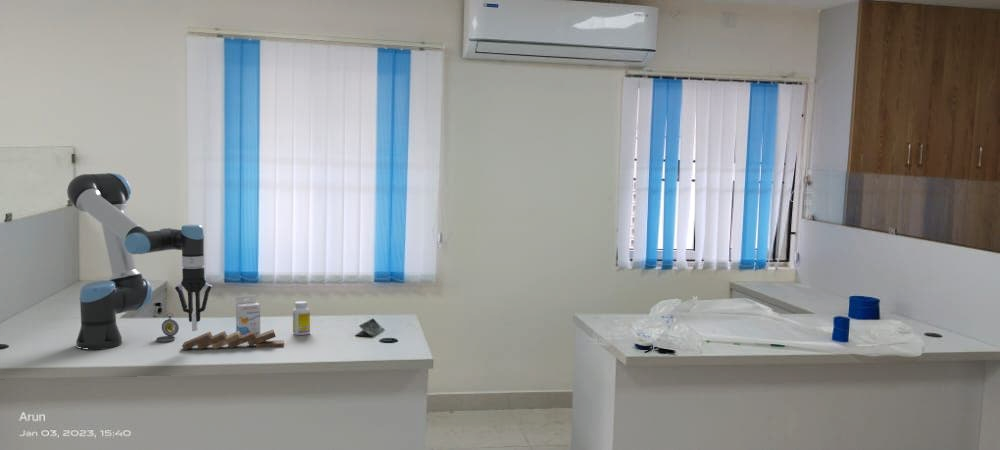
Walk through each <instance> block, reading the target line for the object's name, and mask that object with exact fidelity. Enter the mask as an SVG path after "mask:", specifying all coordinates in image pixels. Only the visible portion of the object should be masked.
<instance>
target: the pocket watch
mask: <svg viewBox="0 0 1000 450" xmlns="http://www.w3.org/2000/svg"><path fill="white" fill-rule="evenodd" d="M166 317H167V318H168V319H166V320H164V321H163V322H162V324H161V330H162V333H164V335H162V336H159V337H156V339H155V340H156V342H160V343H167V342H172V341H174V340H175V339H176V337H175V335H177V334H178V332H179V329H180V326H179V323H178V322H177V321H176V320H174V319H172V317H174V313H171V312H168V313H166Z"/></svg>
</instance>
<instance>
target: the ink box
mask: <svg viewBox="0 0 1000 450" xmlns="http://www.w3.org/2000/svg"><path fill="white" fill-rule="evenodd" d="M235 300H236V301H235V302H236V303H235V322H236V323H235V326H236V328H235V332H237V331H240V333H241V335H244V334H246V333H249V332H251V331H254V330H255V333H256V334H259V333H260V334H261V304H260V303H258V302H257V295H256V294H250V295H237V296H236V299H235Z"/></svg>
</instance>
